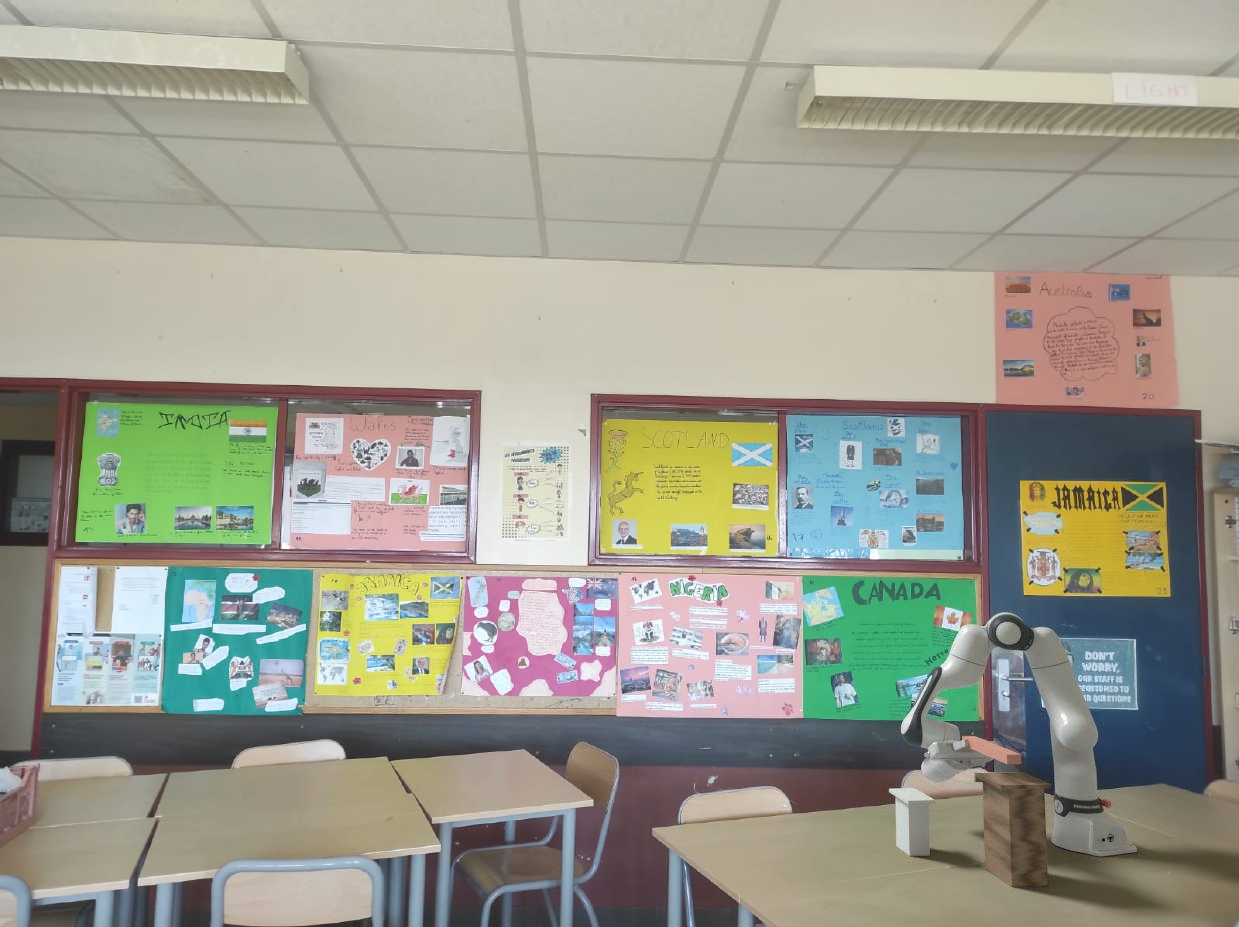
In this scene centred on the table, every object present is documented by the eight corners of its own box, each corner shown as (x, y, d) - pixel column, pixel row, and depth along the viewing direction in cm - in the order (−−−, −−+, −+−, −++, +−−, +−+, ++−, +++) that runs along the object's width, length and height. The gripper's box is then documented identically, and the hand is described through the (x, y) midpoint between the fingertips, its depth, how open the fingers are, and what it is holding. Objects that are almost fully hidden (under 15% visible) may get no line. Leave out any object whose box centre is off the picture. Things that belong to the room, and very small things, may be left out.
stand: (915, 843, 240) (914, 788, 242) (936, 857, 228) (935, 800, 230) (890, 843, 239) (888, 788, 241) (909, 858, 227) (908, 800, 229)
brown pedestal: (1025, 867, 223) (1021, 771, 226) (1055, 885, 210) (1051, 784, 213) (977, 868, 221) (974, 772, 224) (1004, 887, 209) (1001, 785, 211)
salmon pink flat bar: (975, 744, 240) (974, 736, 240) (1021, 764, 218) (1020, 754, 218) (962, 745, 239) (962, 736, 239) (1007, 764, 217) (1006, 754, 218)
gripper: (918, 746, 247) (938, 731, 236) (982, 745, 250) (1004, 730, 239) (924, 767, 244) (944, 753, 233) (988, 766, 246) (1011, 752, 235)
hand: (975, 742), depth 236 cm, fingers closed on salmon pink flat bar, 4 cm apart
